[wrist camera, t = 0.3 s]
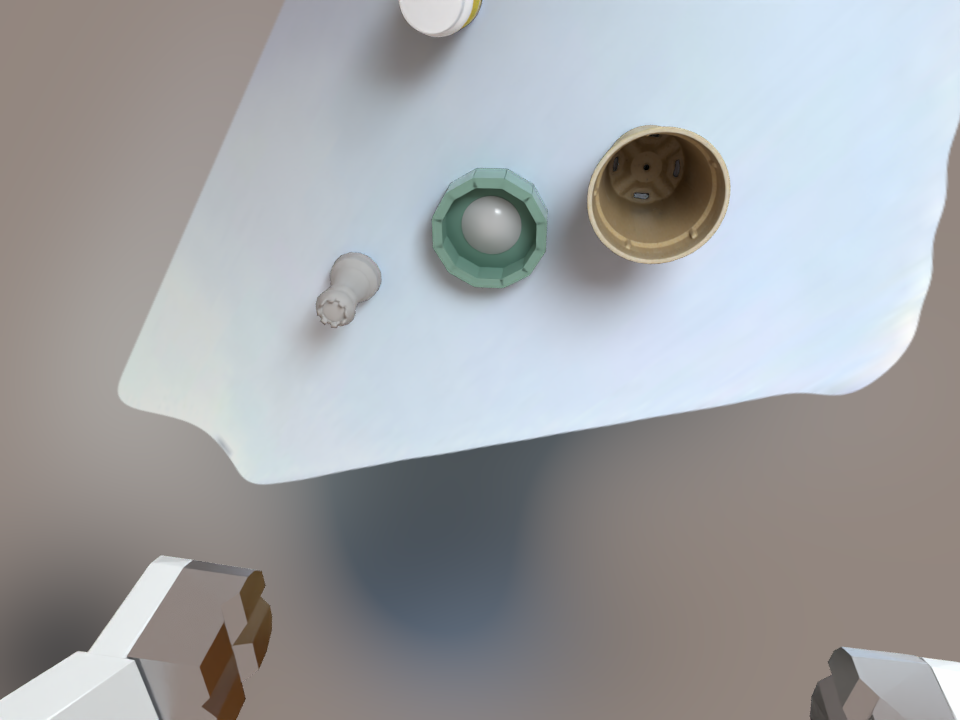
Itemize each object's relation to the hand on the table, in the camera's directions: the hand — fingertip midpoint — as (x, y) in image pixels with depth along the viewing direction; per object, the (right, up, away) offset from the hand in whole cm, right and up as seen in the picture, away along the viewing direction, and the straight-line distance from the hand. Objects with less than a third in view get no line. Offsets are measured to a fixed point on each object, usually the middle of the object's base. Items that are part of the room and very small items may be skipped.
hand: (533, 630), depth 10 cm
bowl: (0, +15, +47) cm, 49 cm away
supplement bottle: (-3, +30, +39) cm, 49 cm away
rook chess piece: (-12, +12, +51) cm, 53 cm away
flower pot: (+12, +19, +43) cm, 49 cm away
